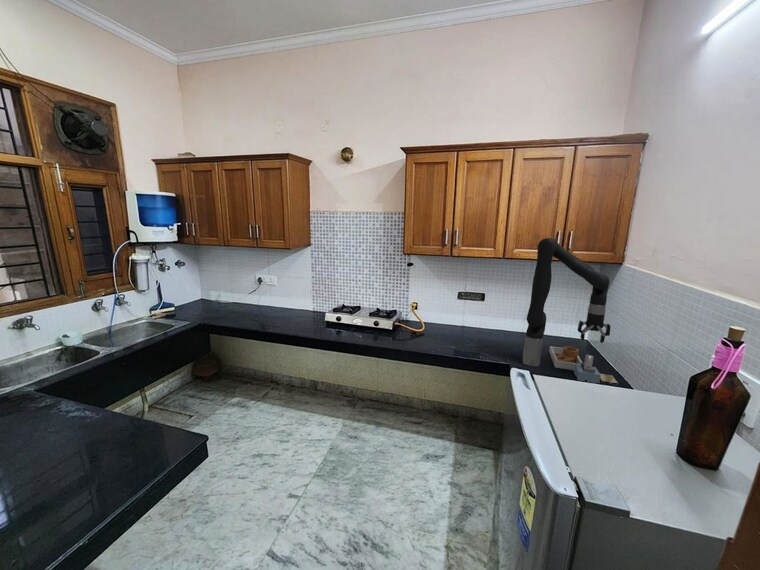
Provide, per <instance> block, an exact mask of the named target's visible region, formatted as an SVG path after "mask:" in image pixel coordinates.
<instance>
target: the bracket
mask: <svg viewBox="0 0 760 570" xmlns="http://www.w3.org/2000/svg"><path fill="white" fill-rule="evenodd" d="M562 348H563V353H562V354H557V355H556V354H555V355H556V357H557V360H558V361H564V362H571V363H576V358H577V356H579V354H580V353H579V352H580V350H579V349H578V348H575V347H574V346H570V345H569V346H563V347H562Z"/></svg>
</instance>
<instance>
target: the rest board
mask: <svg viewBox="0 0 760 570" xmlns="http://www.w3.org/2000/svg"><path fill="white" fill-rule="evenodd" d="M600 375H601V377H600V382H602V381H603V382H602V383H605V382H609V383H608V384H612V383H617V384H616V385H618V384H619V382H618V381H617V380H616V379H615V377H614V375H611V374H605V373H600Z"/></svg>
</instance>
